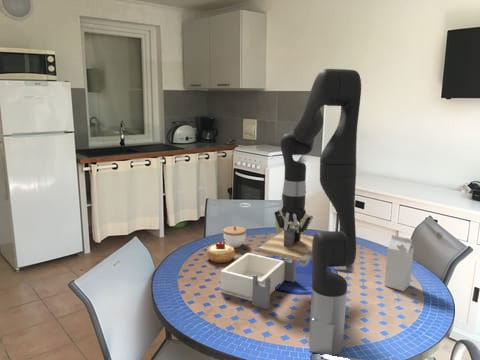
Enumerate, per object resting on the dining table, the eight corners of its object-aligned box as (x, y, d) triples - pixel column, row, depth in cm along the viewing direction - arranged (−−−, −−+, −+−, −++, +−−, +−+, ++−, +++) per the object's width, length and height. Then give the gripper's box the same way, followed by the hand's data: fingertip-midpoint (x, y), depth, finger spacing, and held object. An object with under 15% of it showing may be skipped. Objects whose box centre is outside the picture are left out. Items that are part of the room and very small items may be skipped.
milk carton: (390, 279, 152) (395, 232, 148) (409, 285, 148) (414, 237, 144) (384, 286, 147) (388, 237, 143) (403, 292, 142) (409, 242, 138)
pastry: (201, 259, 170) (200, 240, 168) (221, 252, 178) (221, 233, 176) (220, 267, 162) (219, 246, 160) (240, 258, 170) (240, 239, 168)
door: (304, 266, 122) (305, 246, 120) (254, 254, 130) (255, 235, 129) (330, 241, 143) (331, 224, 141) (285, 232, 151) (286, 216, 150)
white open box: (267, 309, 129) (268, 279, 127) (217, 294, 138) (217, 266, 136) (295, 280, 150) (296, 254, 148) (249, 269, 159) (250, 245, 157)
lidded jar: (220, 242, 190) (220, 223, 188) (241, 240, 193) (242, 222, 191) (226, 250, 179) (226, 230, 178) (248, 248, 183) (249, 228, 181)
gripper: (270, 192, 133) (269, 240, 137) (309, 198, 126) (307, 248, 130) (280, 187, 139) (278, 234, 143) (318, 193, 132) (315, 241, 136)
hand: (292, 240), depth 136 cm, fingers closed on door, 3 cm apart
